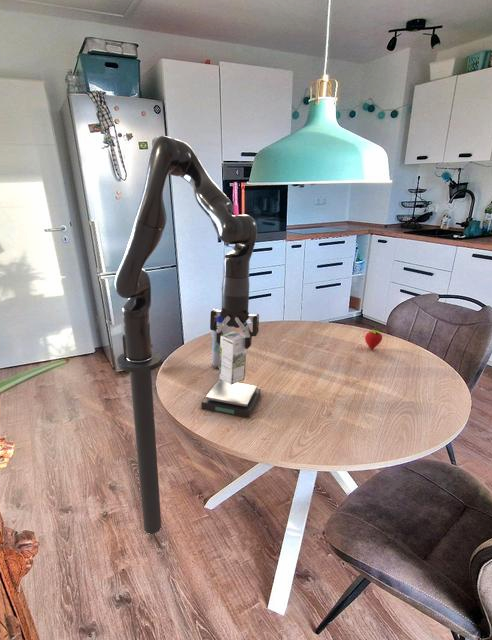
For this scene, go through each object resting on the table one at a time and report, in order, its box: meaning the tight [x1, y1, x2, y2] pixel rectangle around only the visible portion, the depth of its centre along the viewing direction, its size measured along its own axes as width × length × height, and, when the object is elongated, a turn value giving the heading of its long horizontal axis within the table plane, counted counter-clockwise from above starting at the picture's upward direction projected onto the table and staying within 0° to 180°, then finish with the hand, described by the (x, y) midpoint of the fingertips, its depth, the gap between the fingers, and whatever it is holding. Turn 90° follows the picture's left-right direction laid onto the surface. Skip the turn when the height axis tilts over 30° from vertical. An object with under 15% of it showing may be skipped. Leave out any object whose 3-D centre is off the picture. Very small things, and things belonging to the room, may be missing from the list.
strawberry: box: [364, 326, 383, 350], centre depth 163 cm, size 6×8×10 cm
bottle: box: [210, 315, 231, 369], centre depth 141 cm, size 7×7×20 cm
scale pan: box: [205, 378, 258, 407], centre depth 120 cm, size 13×12×1 cm
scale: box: [200, 381, 262, 419], centre depth 121 cm, size 15×14×2 cm
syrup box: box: [218, 331, 248, 385], centre depth 115 cm, size 6×6×14 cm
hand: (233, 346), depth 114 cm, fingers closed on syrup box, 7 cm apart
